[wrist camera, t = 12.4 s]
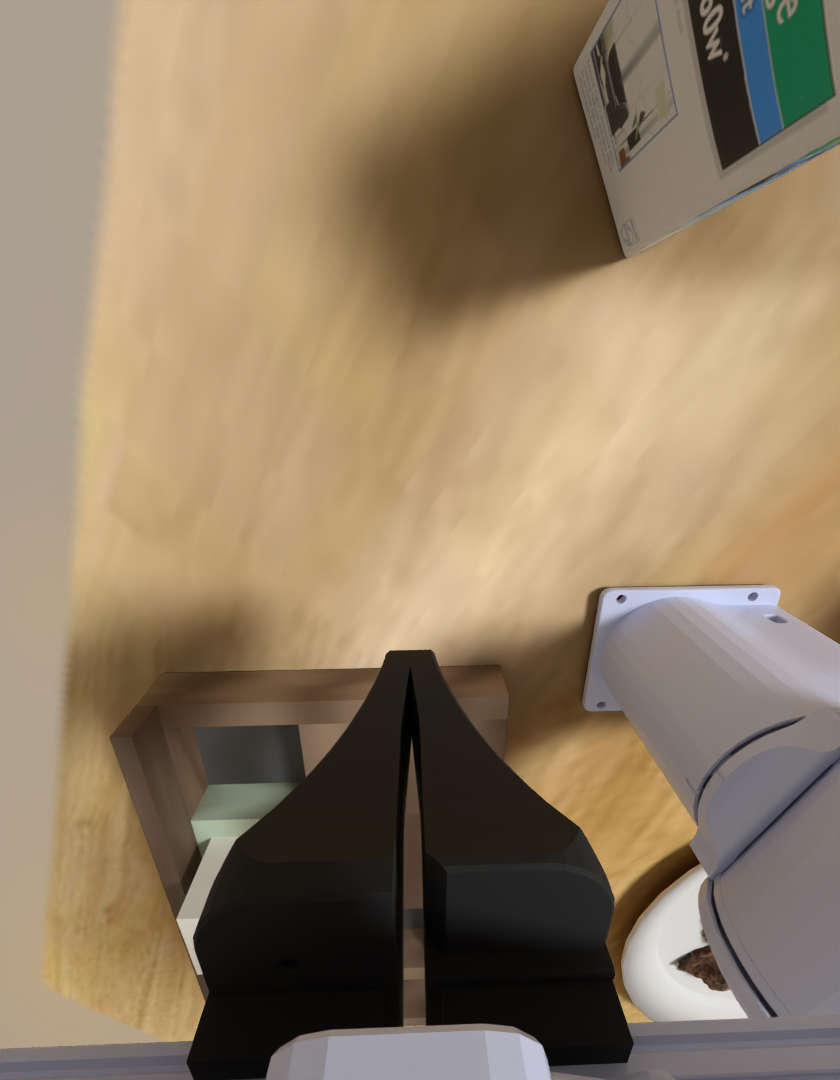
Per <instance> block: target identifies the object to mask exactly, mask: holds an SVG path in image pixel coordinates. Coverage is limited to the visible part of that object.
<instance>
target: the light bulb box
mask: <svg viewBox="0 0 840 1080" xmlns="http://www.w3.org/2000/svg"><path fill="white" fill-rule="evenodd" d="M573 72H574V77H575V81H576V84H577V88H578V92H579V95H580V99H581V102H582V106H583V110H584V113H585V117H586V120H587V124H588V127H589V131H590V134H591V138H592V141H593V145H594V149H595V152H596V156H597V159H598V163H599V167H600V170H601V174H602V177H603V181H604V185H605V188H606V192H607V195H608V199H609V203H610V206H611V210H612V213H613V217H614V221H615V224H616V228H617V232H618V235H619V239H620V242H621V246H622V249H623V252H624V255H625V256H626V257H631V256H633V255H635V254H637V253H639V252H641V251H643V250H645V249H647V248H649V247H651V246H652V245H654V244H656V243H658V242H660V241H662V240H664V239H666V238H668V237H670V236H672V235H674V234H676V233H678V232H680V231H681V230H683V229H685V228H687V227H689V226H691V225H693V224H694V223H696V222H698V221H700V220H702V219H704V218H706V217H708V216H709V215H711V214H713V213H715V212H717V211H719V210H721V209H723V208H725V207H726V206H728V205H730V204H732V203H734V202H736V201H737V200H739V199H741V198H743V197H745V196H747V195H749V194H751V193H752V192H754V191H756V190H758V189H760V188H762V187H763V186H765V185H767V184H769V183H771V182H772V181H774V180H776V179H778V178H780V177H781V176H783V175H785V174H787V173H789V172H790V171H792V170H794V169H796V168H798V167H799V166H801V165H803V164H805V163H807V162H808V161H810V160H812V159H814V158H816V157H817V156H819V155H821V154H823V153H825V152H826V151H828V150H830V149H832V148H833V147H835V146H837V145H839V144H840V0H609V1H608V3H607V5H606V7H605V9H604V11H603V12H602V14H601V16H600V18H599V20H598V22H597V24H596V26H595V27H594V29H593V31H592V34H591V35H590V37H589V39H588V41H587V43H586V45H585V47H584V49H583V50H582V52H581V54H580V56H579V58H578V60H577V62H576V64H575V66H574V69H573Z"/></svg>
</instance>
